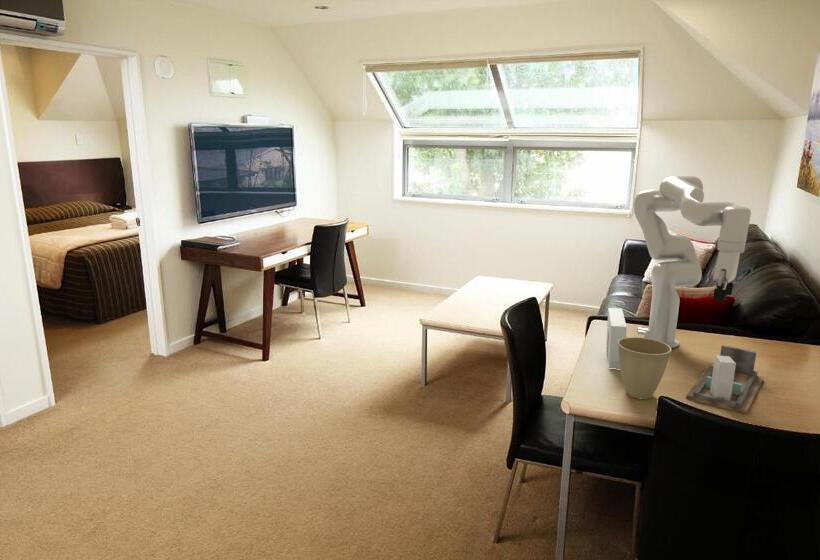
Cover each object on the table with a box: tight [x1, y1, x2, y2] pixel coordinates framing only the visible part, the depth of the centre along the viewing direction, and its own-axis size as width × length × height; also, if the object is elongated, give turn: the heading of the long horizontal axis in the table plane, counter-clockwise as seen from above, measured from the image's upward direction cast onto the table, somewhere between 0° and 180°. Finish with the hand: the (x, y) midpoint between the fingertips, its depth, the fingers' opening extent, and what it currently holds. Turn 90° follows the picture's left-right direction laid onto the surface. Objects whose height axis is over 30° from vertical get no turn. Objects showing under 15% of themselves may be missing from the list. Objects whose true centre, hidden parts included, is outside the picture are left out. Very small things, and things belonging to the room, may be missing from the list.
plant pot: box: [618, 336, 672, 400], centre depth 174 cm, size 15×15×16 cm
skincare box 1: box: [605, 307, 627, 369], centre depth 201 cm, size 21×6×16 cm, turn 164°
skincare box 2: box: [710, 354, 736, 401], centre depth 170 cm, size 6×4×12 cm
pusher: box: [706, 376, 742, 396], centre depth 174 cm, size 9×1×4 cm, turn 51°
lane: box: [686, 344, 764, 415], centre depth 178 cm, size 16×30×9 cm, turn 141°
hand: (722, 297), depth 186 cm, fingers open, 9 cm apart
